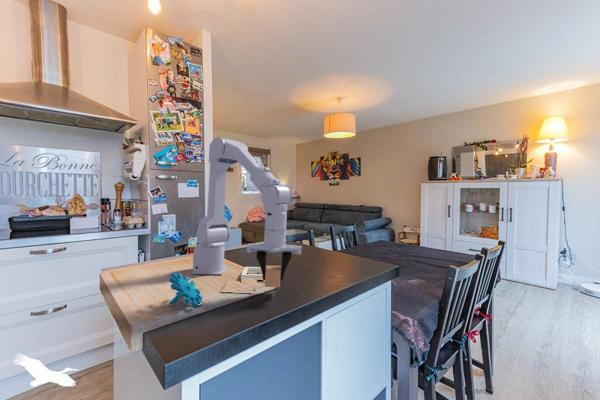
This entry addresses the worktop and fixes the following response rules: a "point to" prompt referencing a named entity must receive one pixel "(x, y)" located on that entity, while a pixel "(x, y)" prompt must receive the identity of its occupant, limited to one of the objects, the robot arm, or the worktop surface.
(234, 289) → the worktop surface
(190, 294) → the teal spiky cog
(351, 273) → the worktop surface
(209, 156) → the robot arm
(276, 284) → the light brown wooden cube
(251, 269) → the socket
